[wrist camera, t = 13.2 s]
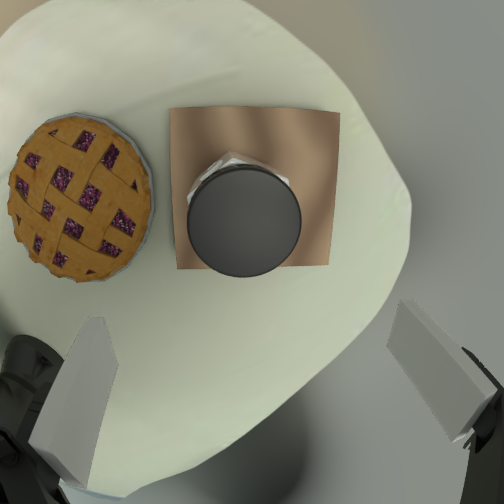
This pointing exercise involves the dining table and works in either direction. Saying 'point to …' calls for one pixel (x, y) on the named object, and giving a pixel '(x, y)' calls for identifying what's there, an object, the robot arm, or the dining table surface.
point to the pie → (81, 198)
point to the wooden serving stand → (264, 150)
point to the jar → (242, 216)
